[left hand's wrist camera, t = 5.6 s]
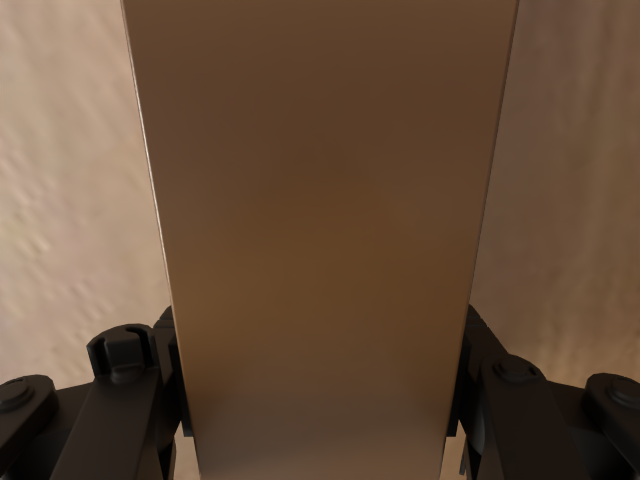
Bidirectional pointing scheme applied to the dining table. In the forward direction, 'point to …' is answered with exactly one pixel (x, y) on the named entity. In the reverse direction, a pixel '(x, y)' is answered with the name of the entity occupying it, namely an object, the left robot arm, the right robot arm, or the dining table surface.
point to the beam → (319, 219)
